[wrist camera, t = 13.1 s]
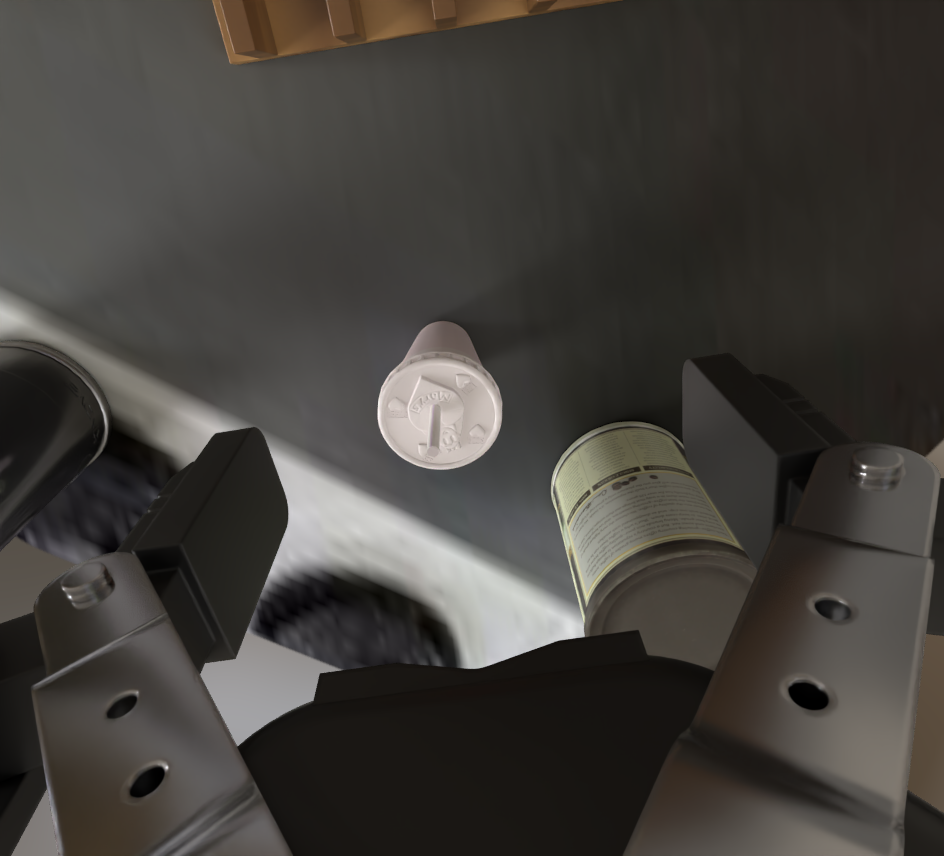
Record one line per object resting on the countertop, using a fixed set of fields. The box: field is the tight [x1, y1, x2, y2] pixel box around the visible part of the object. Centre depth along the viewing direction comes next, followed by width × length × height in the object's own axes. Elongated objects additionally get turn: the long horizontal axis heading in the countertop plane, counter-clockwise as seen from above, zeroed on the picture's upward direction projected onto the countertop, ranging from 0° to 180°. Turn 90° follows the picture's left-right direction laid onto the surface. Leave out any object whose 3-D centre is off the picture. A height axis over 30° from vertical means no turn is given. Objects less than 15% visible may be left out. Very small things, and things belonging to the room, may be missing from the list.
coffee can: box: [551, 421, 757, 671], centre depth 39 cm, size 10×10×14 cm
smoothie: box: [378, 321, 502, 469], centre depth 34 cm, size 6×6×14 cm
